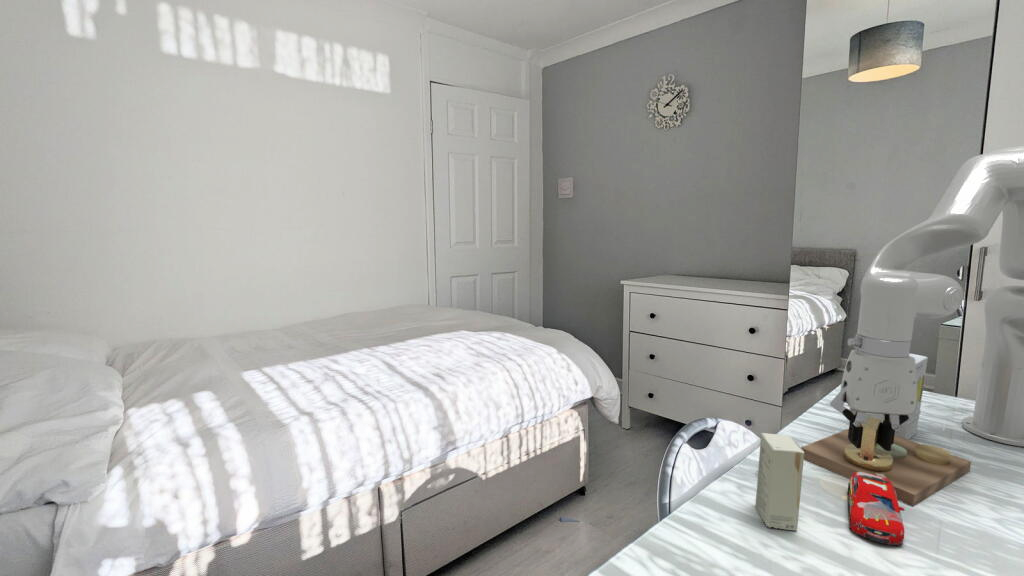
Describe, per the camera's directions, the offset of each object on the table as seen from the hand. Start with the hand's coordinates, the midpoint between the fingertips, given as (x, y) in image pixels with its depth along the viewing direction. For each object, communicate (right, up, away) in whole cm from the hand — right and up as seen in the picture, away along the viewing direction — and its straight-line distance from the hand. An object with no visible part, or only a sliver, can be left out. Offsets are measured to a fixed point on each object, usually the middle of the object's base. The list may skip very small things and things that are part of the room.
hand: (869, 445), depth 88 cm
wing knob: (0, -3, 0) cm, 3 cm away
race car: (-8, -8, -12) cm, 16 cm away
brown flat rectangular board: (+5, -5, +4) cm, 8 cm away
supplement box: (+16, -3, +18) cm, 25 cm away
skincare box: (-24, -7, -13) cm, 28 cm away
